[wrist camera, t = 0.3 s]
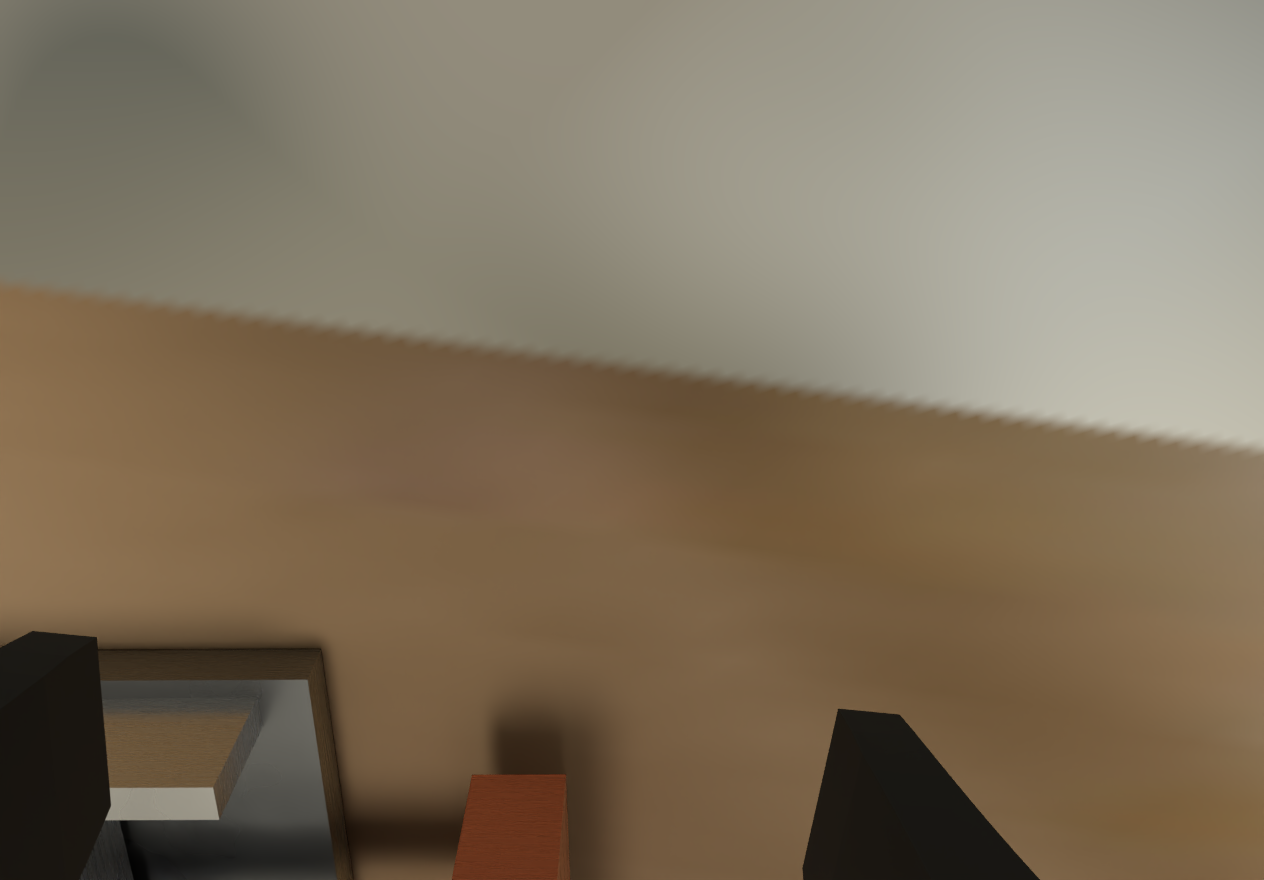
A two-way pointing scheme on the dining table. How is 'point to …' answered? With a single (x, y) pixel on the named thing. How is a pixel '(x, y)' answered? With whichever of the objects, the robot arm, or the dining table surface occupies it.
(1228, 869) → the dining table surface
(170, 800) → the press bed
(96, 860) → the ram
